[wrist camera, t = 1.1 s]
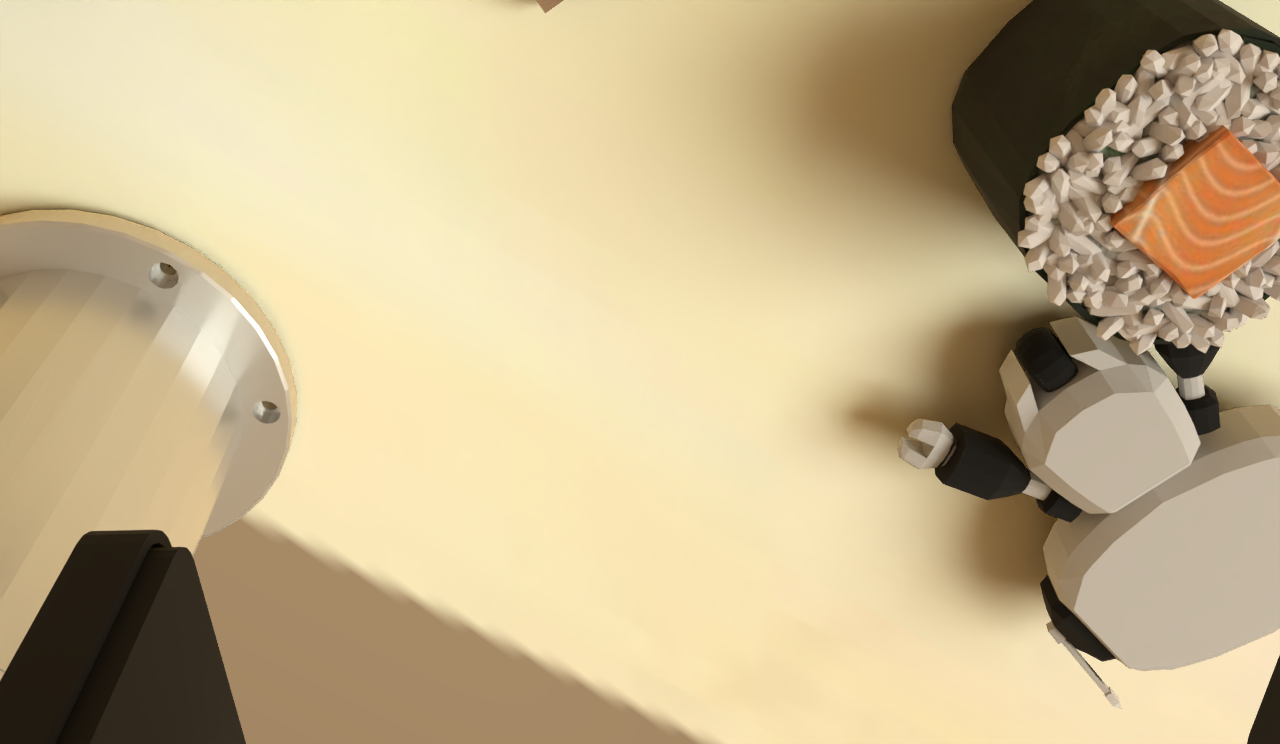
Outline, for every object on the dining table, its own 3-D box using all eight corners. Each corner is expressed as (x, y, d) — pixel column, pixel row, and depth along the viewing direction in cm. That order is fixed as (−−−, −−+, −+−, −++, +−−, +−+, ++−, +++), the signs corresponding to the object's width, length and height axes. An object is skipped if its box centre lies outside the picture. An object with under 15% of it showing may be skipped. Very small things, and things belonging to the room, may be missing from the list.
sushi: (1112, -97, 33) (1248, -22, 26) (1285, 93, 36) (1445, 204, 29) (896, 121, 36) (967, 238, 29) (1072, 278, 39) (1173, 418, 32)
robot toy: (859, 405, 43) (1091, 647, 48) (880, 477, 39) (1130, 732, 44) (1166, 182, 39) (1384, 474, 44) (1225, 237, 35) (1456, 551, 40)
